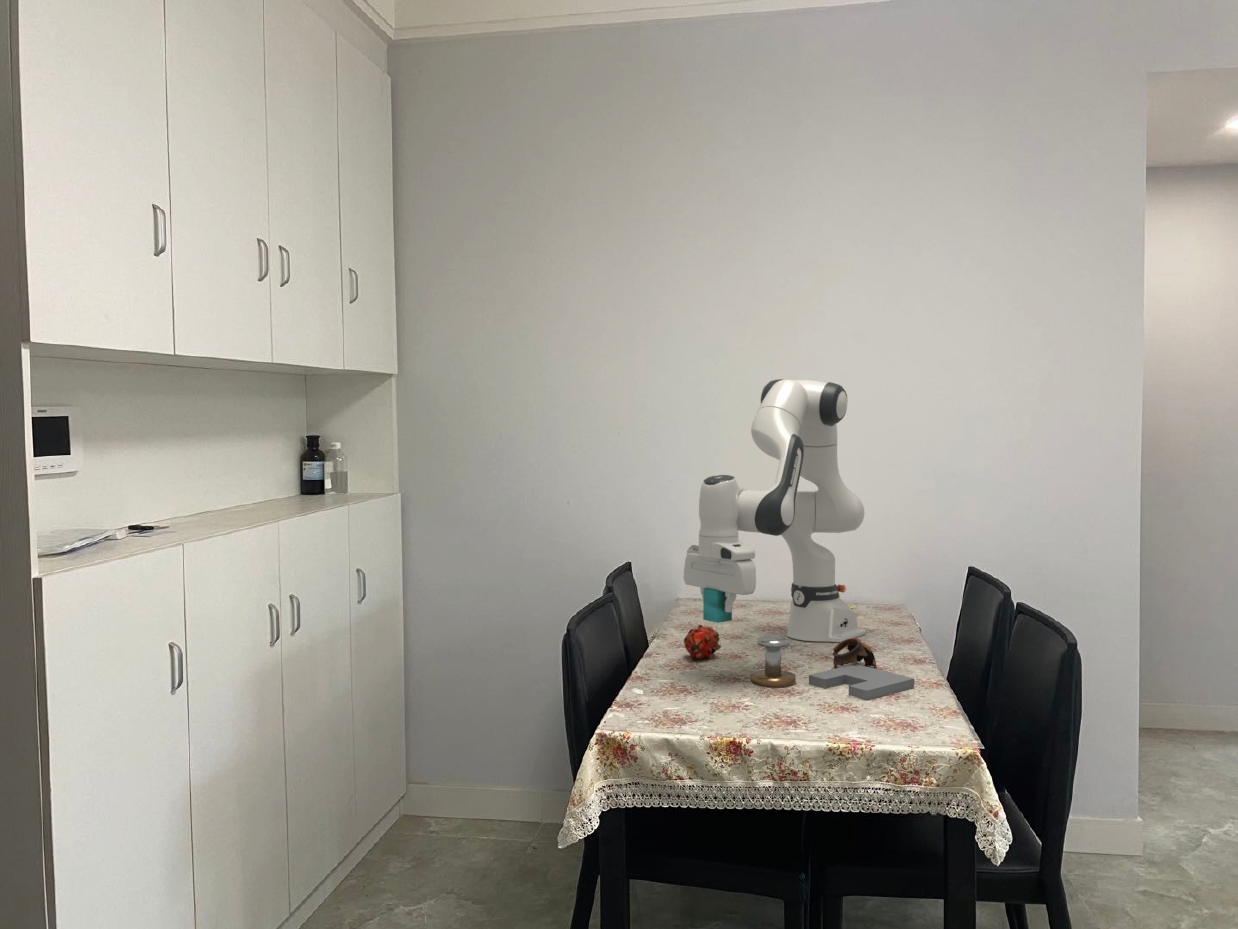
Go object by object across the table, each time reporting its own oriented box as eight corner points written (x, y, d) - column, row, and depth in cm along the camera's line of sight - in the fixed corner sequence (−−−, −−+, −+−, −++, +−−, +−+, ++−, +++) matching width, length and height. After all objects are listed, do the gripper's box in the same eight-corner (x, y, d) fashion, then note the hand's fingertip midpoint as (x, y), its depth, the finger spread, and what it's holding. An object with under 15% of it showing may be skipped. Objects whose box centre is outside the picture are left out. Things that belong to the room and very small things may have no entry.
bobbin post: (772, 673, 230) (772, 632, 229) (805, 682, 222) (805, 640, 221) (741, 680, 224) (741, 638, 223) (773, 690, 216) (773, 646, 215)
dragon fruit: (713, 658, 251) (697, 676, 240) (686, 637, 253) (669, 654, 242) (731, 634, 247) (716, 651, 237) (704, 612, 249) (687, 628, 239)
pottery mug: (881, 677, 229) (865, 647, 227) (843, 692, 232) (827, 663, 230) (878, 652, 240) (862, 623, 239) (841, 666, 243) (826, 638, 241)
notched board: (856, 672, 231) (856, 664, 230) (914, 687, 218) (914, 678, 218) (808, 683, 221) (808, 674, 221) (866, 700, 208) (866, 690, 208)
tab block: (718, 617, 227) (718, 586, 227) (731, 620, 223) (732, 589, 223) (703, 619, 224) (703, 588, 224) (717, 622, 220) (717, 591, 220)
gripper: (677, 544, 229) (677, 604, 230) (739, 553, 213) (739, 618, 214) (697, 543, 233) (697, 602, 234) (760, 551, 217) (760, 615, 217)
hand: (718, 610), depth 224 cm, fingers closed on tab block, 4 cm apart
